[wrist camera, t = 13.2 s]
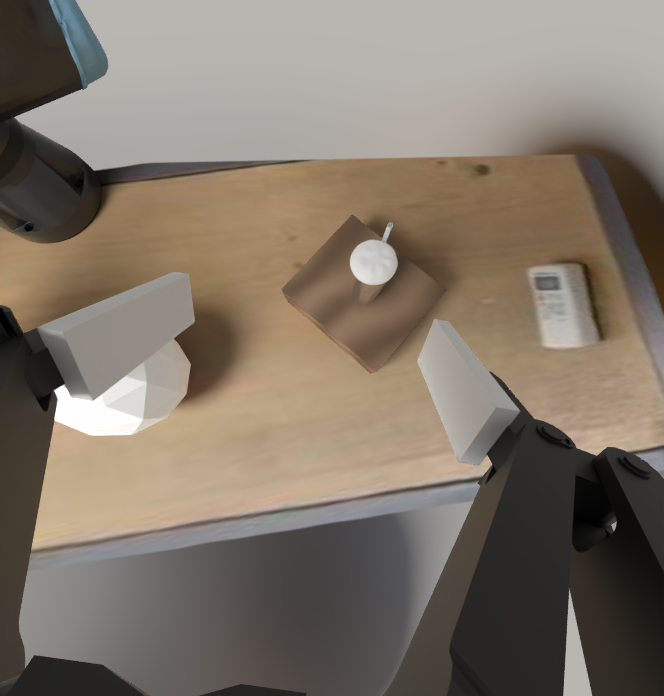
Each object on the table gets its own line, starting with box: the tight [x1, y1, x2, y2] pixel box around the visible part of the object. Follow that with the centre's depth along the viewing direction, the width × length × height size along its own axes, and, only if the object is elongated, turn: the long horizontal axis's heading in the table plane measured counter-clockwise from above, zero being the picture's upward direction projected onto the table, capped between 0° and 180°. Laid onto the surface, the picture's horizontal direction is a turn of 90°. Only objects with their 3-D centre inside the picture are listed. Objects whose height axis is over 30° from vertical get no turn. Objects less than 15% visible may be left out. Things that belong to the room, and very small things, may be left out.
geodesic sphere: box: [54, 339, 191, 435], centre depth 29 cm, size 14×14×14 cm
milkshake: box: [350, 222, 398, 304], centre depth 27 cm, size 5×5×10 cm
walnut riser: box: [281, 215, 446, 373], centre depth 35 cm, size 16×14×5 cm
